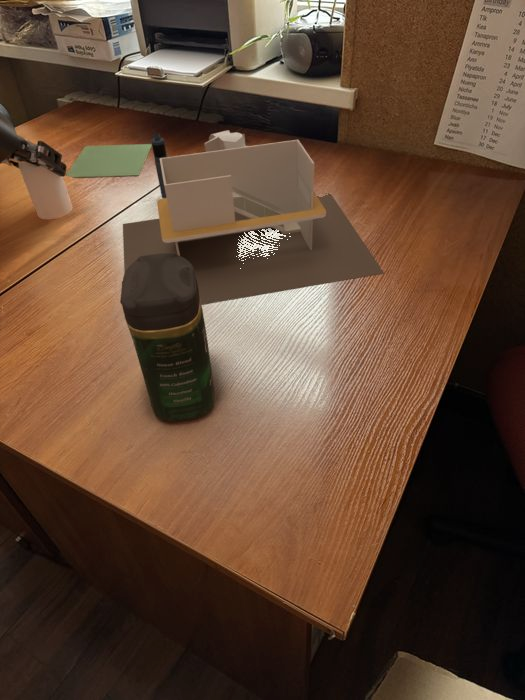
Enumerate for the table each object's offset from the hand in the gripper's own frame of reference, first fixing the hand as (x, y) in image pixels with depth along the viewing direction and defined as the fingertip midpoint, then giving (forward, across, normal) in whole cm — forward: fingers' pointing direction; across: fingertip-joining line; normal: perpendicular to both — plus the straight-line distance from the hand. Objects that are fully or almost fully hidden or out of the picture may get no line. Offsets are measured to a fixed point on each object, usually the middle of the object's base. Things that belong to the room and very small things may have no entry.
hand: (46, 169), depth 90 cm
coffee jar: (-19, -41, +32) cm, 55 cm away
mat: (+23, +2, -10) cm, 25 cm away
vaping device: (+14, -19, -1) cm, 23 cm away
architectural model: (+4, -38, +8) cm, 39 cm away
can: (+5, 0, +7) cm, 9 cm away
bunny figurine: (+27, -24, -15) cm, 39 cm away
